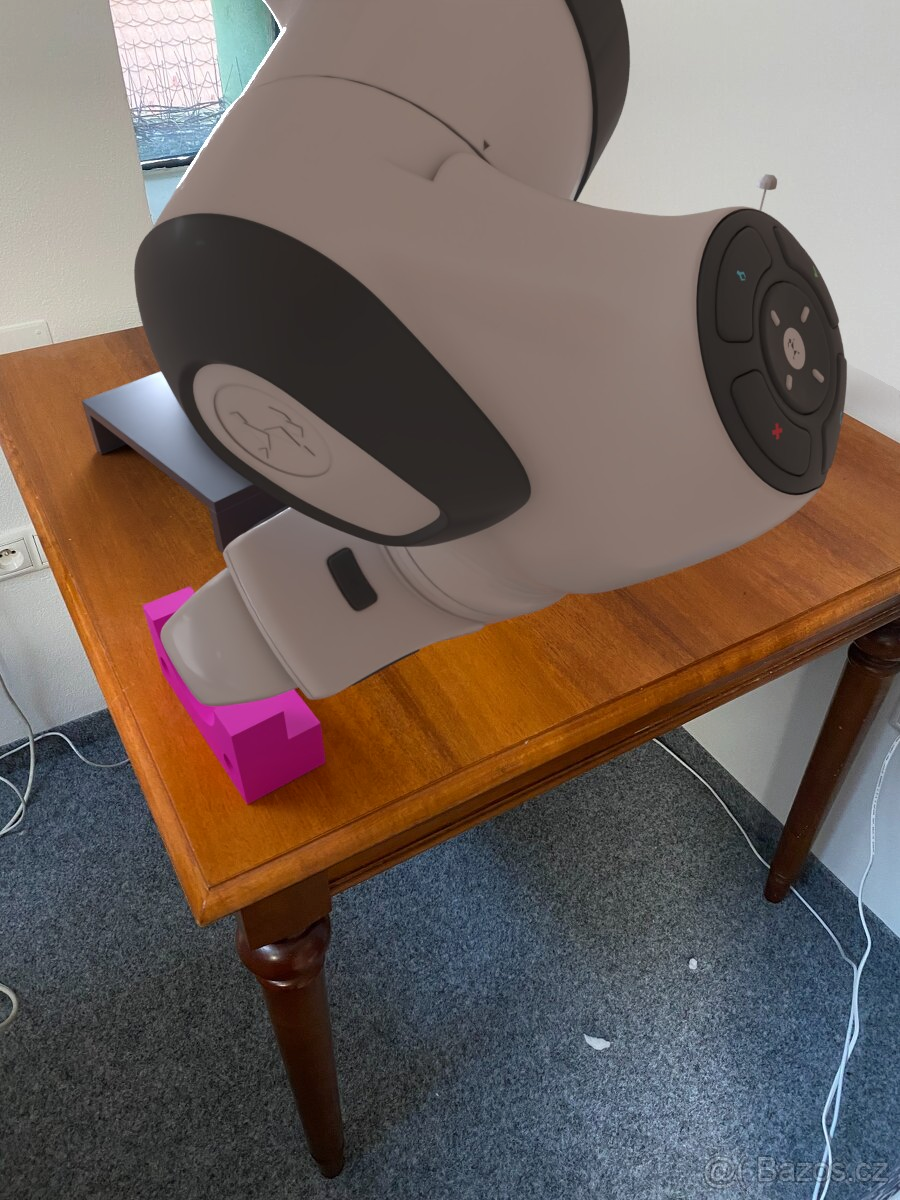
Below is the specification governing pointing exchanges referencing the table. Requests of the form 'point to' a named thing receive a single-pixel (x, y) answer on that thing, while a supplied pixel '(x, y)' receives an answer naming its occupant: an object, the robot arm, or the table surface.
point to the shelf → (177, 452)
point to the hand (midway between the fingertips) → (319, 584)
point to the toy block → (245, 723)
